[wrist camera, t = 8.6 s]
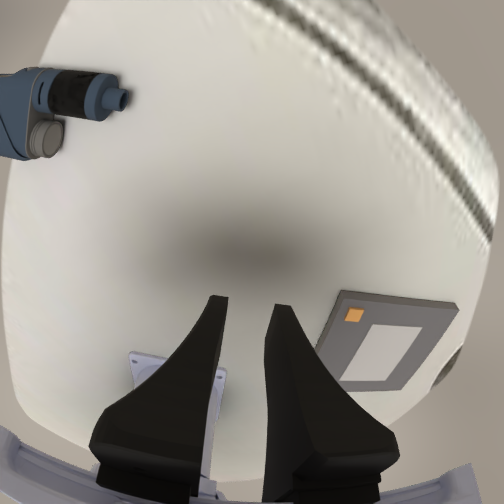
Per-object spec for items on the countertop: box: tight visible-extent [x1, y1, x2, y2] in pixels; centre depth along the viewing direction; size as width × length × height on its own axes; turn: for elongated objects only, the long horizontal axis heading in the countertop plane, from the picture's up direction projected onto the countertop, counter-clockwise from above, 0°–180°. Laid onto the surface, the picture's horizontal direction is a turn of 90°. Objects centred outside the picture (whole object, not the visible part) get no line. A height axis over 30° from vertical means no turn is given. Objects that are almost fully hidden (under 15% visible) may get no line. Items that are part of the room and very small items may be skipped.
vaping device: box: [0, 67, 129, 161], centre depth 11 cm, size 3×5×12 cm
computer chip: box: [315, 290, 459, 392], centre depth 21 cm, size 10×10×1 cm
